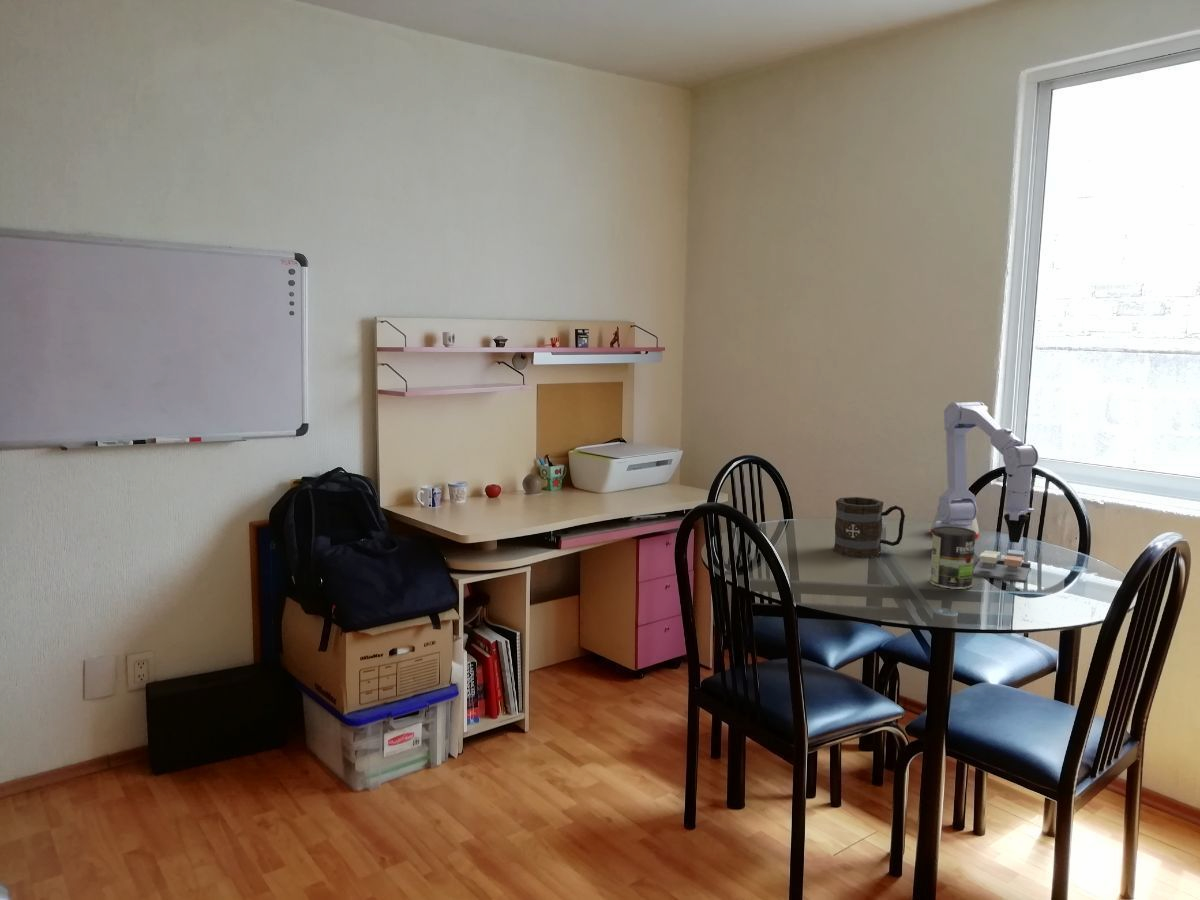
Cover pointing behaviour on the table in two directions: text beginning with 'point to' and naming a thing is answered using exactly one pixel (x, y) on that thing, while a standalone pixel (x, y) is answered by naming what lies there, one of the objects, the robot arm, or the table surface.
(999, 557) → the cream white block
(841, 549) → the mug
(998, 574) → the keypad board
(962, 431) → the robot arm
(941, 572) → the coffee can
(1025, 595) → the table surface
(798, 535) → the table surface
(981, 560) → the ivory key
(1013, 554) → the grey square block
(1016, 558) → the terracotta key
